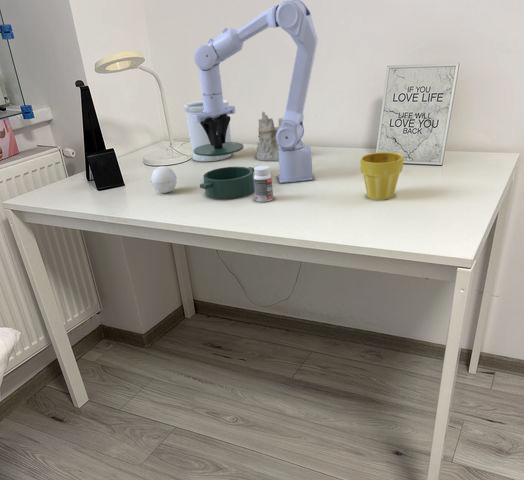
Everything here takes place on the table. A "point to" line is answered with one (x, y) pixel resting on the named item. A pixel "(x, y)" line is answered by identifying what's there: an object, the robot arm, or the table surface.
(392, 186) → the flower pot
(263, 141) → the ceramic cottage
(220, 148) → the lid
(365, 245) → the table surface
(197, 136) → the utensil holder
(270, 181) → the pill bottle
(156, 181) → the white rounded ovoid
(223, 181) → the pot
